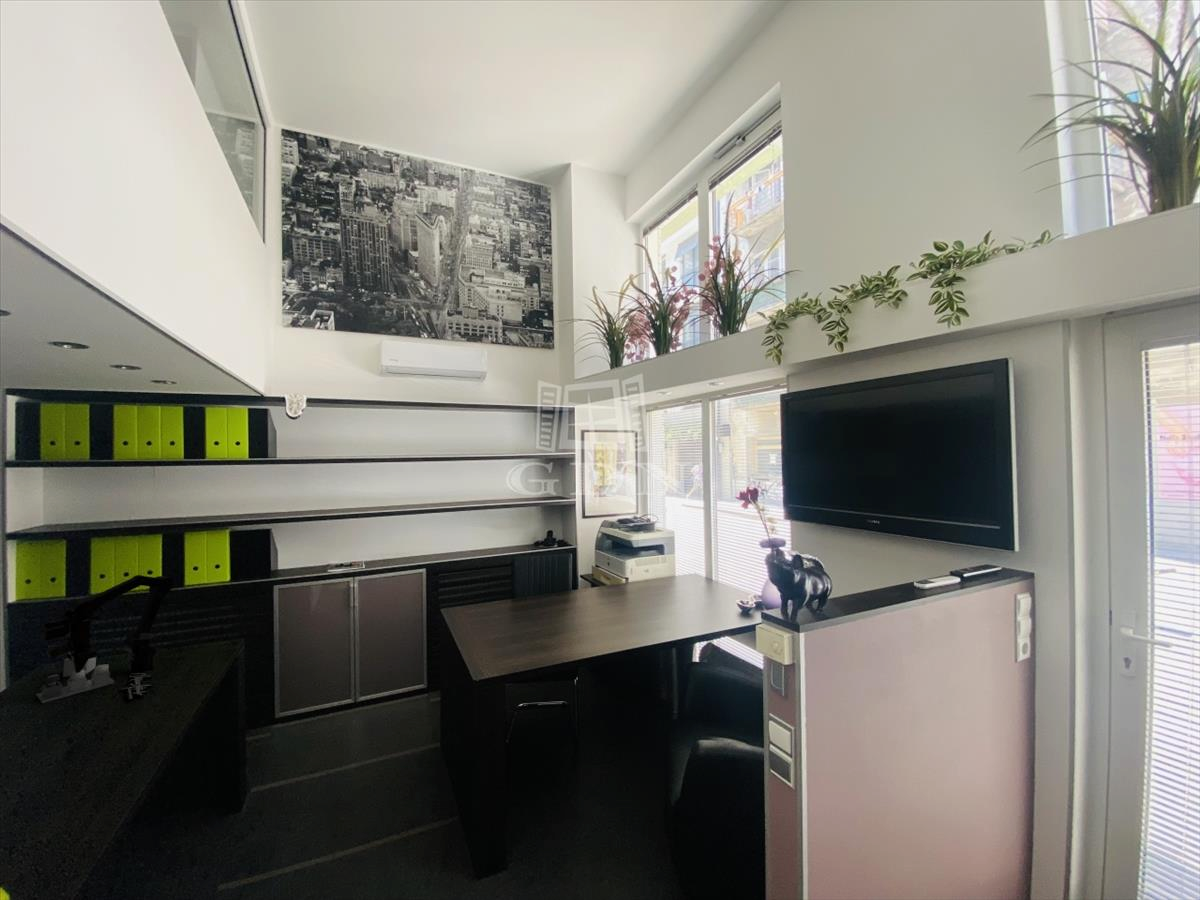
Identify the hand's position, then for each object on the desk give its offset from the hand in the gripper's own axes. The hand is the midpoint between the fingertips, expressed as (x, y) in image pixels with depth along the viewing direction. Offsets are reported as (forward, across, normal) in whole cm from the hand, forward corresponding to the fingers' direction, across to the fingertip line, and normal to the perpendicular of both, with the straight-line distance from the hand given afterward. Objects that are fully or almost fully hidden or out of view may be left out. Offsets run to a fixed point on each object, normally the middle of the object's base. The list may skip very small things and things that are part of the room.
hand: (77, 672), depth 182 cm
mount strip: (+6, 0, 0) cm, 6 cm away
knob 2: (+6, 0, +7) cm, 9 cm away
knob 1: (+6, 0, 0) cm, 6 cm away
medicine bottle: (+7, -20, +4) cm, 21 cm away
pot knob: (+3, 0, -6) cm, 7 cm away
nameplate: (+7, +16, +13) cm, 22 cm away
